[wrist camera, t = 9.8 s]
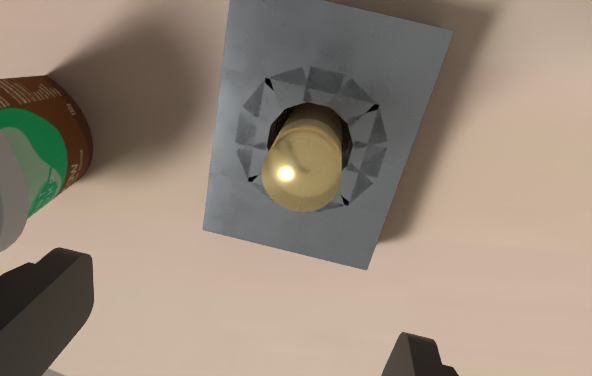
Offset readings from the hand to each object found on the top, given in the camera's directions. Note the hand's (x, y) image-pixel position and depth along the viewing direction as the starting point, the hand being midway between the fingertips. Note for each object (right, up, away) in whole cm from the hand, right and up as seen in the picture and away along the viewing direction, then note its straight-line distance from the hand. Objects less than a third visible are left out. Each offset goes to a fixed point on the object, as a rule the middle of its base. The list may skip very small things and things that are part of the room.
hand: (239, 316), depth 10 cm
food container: (-16, +6, +19) cm, 26 cm away
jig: (+3, +7, +16) cm, 18 cm away
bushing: (+3, +7, +16) cm, 18 cm away
